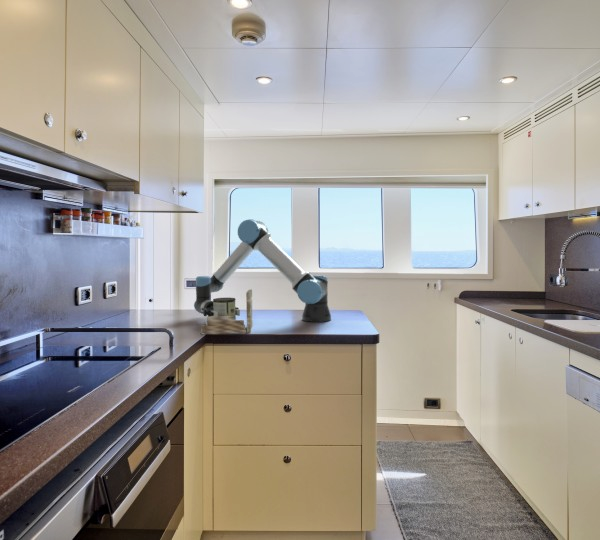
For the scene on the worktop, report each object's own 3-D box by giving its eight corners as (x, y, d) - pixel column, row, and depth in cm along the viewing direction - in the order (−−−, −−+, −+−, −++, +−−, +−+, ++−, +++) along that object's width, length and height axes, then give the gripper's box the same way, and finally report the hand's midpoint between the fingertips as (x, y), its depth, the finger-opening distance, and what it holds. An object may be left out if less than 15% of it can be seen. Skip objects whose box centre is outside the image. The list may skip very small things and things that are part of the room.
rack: (252, 326, 199) (252, 289, 198) (250, 333, 183) (249, 292, 182) (206, 327, 198) (205, 290, 197) (200, 334, 182) (199, 293, 181)
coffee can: (217, 326, 199) (216, 297, 198) (238, 326, 197) (237, 297, 197) (210, 330, 188) (210, 300, 188) (232, 331, 187) (232, 300, 187)
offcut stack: (245, 329, 185) (244, 315, 185) (244, 329, 183) (244, 316, 183) (202, 329, 184) (201, 316, 184) (201, 330, 182) (201, 317, 182)
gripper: (231, 313, 214) (250, 319, 195) (188, 318, 202) (204, 324, 183) (231, 299, 214) (250, 303, 195) (188, 302, 201) (204, 307, 183)
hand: (228, 313), depth 189 cm, fingers closed on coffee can, 10 cm apart
